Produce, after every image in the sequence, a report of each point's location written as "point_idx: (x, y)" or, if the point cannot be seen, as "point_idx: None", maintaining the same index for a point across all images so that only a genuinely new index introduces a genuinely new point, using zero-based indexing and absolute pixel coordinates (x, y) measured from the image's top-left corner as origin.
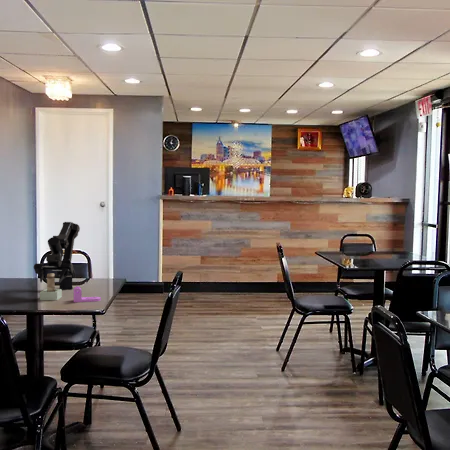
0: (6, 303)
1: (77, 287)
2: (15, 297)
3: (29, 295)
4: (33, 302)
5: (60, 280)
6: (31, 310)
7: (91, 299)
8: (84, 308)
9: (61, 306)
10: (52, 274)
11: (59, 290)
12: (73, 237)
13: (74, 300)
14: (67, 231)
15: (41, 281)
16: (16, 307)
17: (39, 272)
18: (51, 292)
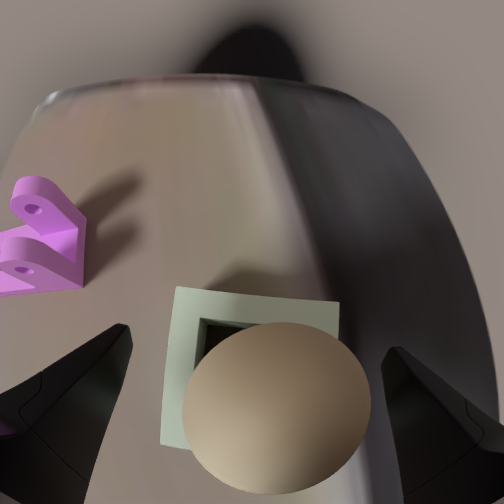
0: (448, 228)
1: (12, 239)
2: (464, 393)
3: None
4: (336, 237)
5: (104, 338)
6: (277, 81)
7: (10, 230)
8: (76, 107)
9: (154, 128)
10: (219, 346)
11: (167, 381)
12: None
13: (78, 214)
14: None
15: (387, 366)
16: (365, 134)
17: (498, 430)
18: (229, 293)
